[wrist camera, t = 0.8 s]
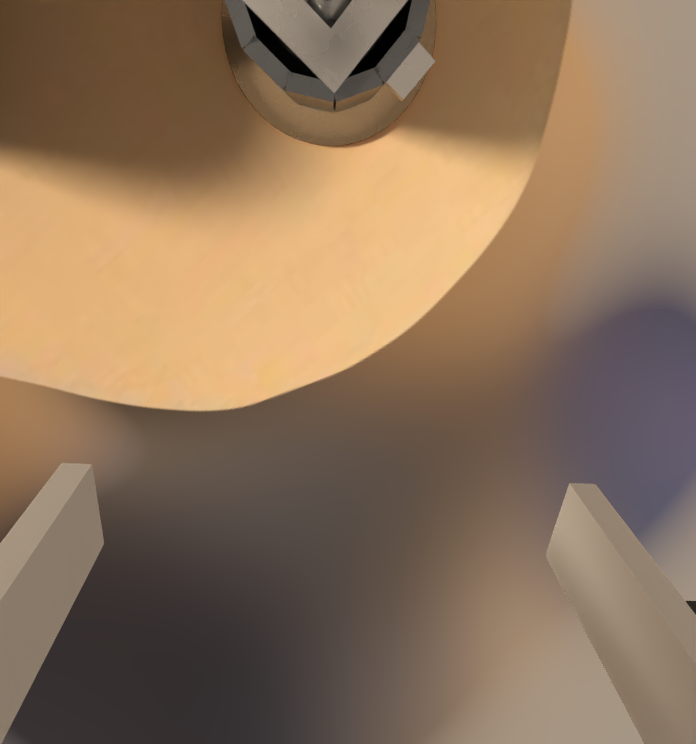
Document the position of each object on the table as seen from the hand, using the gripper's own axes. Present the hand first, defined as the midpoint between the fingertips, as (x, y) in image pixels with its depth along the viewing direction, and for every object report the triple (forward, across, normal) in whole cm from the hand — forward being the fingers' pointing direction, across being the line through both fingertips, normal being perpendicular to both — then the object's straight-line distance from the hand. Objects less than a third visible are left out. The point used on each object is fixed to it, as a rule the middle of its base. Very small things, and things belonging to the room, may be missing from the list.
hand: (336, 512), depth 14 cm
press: (+32, -1, +16) cm, 36 cm away
